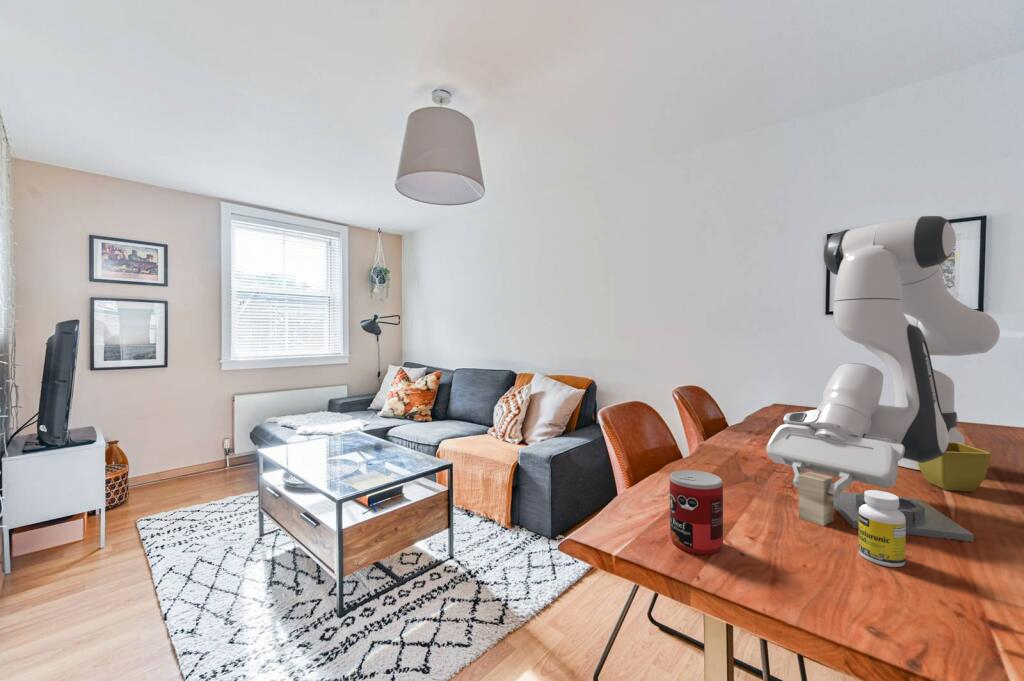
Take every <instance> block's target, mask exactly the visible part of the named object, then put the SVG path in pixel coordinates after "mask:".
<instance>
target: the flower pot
mask: <svg viewBox="0 0 1024 681" xmlns="http://www.w3.org/2000/svg"><path fill="white" fill-rule="evenodd" d="M964 444H965V443H964ZM964 444H960V443H953V442H949V443H948V447H947V450H946V453H945V454H943V455H942V456H940V457H938V458H936V459H934V460H931V461H928V462H924V463H921V462H918V466H919V468H920V470H919V471H920V472H921V474H922V475H923V476H924V479H925V480H926V481H927V482H928V483H930V484H932V485H934V486H936V487H938V488H940V489H942V490H945V491H955V492H956V491H957V492H958V491H959V492H974V491H975V490H977V489H978V487H980V486H981V484H982V483H983V482H984V481H985V479H986V477H987V472H988V469H989V465H990V461H991V460H990V458H991V456H992V453H990V452H988V451H985V450H984V449H983V450H982V449H979V448H976V447H973V446H970V445H967V444H965V445H964Z"/></svg>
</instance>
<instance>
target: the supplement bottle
mask: <svg viewBox="0 0 1024 681" xmlns="http://www.w3.org/2000/svg"><path fill="white" fill-rule="evenodd" d="M863 493H864V499H865V502H866V503H867V504H863V505H861V506H860V508H859V528H858V552H859V554H860V555H861V557H862V558H864V559H866V560H868V561H869V562H872V563H874V564H877V565H879V566H880V565H881V566H884V567H890V568H899V567H903V566H905V565H906V560H907V559H906V558H907V557H906V553H907V550H906V548H907V544H906V543H907V540H906V538H907V534H906V519H905V516H904V514H903V513H902V512H901V511H899V510H897V508H899V497H900V496H899V497H898V495H896V494H894V493H891V492H888V491H884V490H883V491H882V490H876V489H868V490H865V491H863Z"/></svg>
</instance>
